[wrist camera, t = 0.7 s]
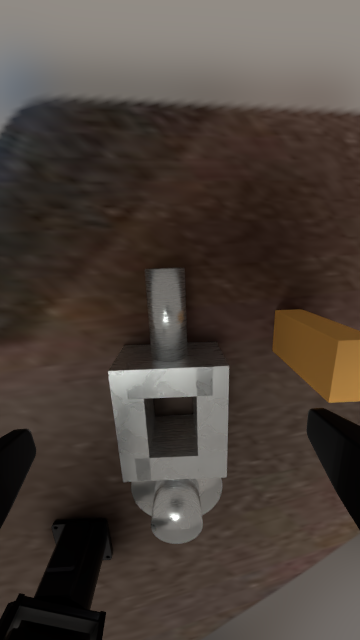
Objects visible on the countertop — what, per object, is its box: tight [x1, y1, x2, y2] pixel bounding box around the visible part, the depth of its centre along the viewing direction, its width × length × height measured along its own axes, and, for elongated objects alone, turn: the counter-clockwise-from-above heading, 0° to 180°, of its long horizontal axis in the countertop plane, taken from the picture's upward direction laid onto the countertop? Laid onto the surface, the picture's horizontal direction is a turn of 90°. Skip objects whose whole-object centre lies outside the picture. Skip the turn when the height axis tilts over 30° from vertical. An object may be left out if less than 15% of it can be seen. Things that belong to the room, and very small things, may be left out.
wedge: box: [272, 309, 360, 403], centre depth 16 cm, size 4×2×8 cm, turn 2°
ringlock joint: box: [108, 268, 229, 544], centre depth 19 cm, size 26×9×6 cm, turn 2°
